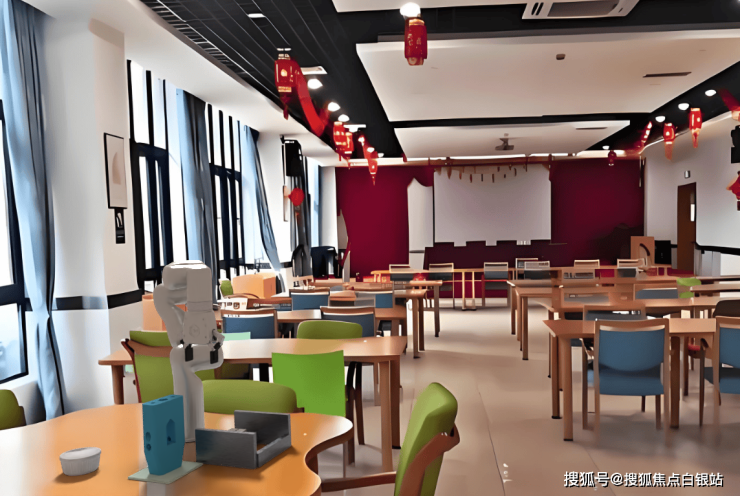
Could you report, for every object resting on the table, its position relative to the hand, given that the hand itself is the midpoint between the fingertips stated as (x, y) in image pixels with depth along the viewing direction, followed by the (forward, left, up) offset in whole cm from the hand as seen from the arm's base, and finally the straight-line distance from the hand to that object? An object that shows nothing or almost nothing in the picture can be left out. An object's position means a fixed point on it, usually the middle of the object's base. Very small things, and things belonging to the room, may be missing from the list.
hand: (201, 362), depth 191 cm
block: (-2, -16, -28) cm, 32 cm away
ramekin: (-28, -21, -29) cm, 45 cm away
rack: (+12, +4, -29) cm, 31 cm away
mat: (-2, -16, -29) cm, 33 cm away
